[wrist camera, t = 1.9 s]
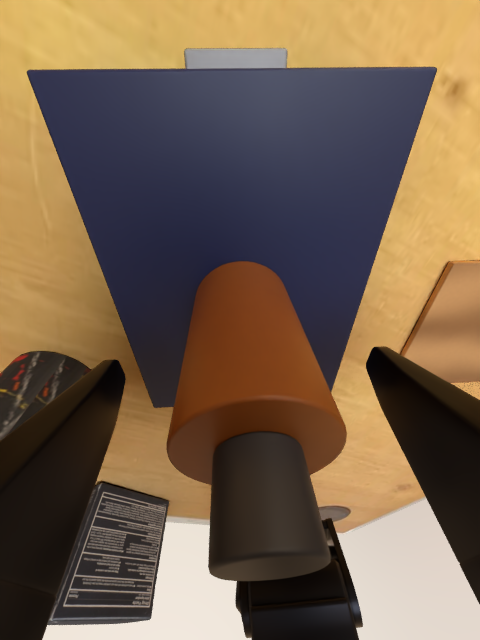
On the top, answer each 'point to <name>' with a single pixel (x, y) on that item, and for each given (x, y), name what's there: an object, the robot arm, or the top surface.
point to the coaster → (450, 326)
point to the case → (233, 185)
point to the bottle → (254, 426)
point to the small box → (113, 560)
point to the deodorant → (34, 385)
